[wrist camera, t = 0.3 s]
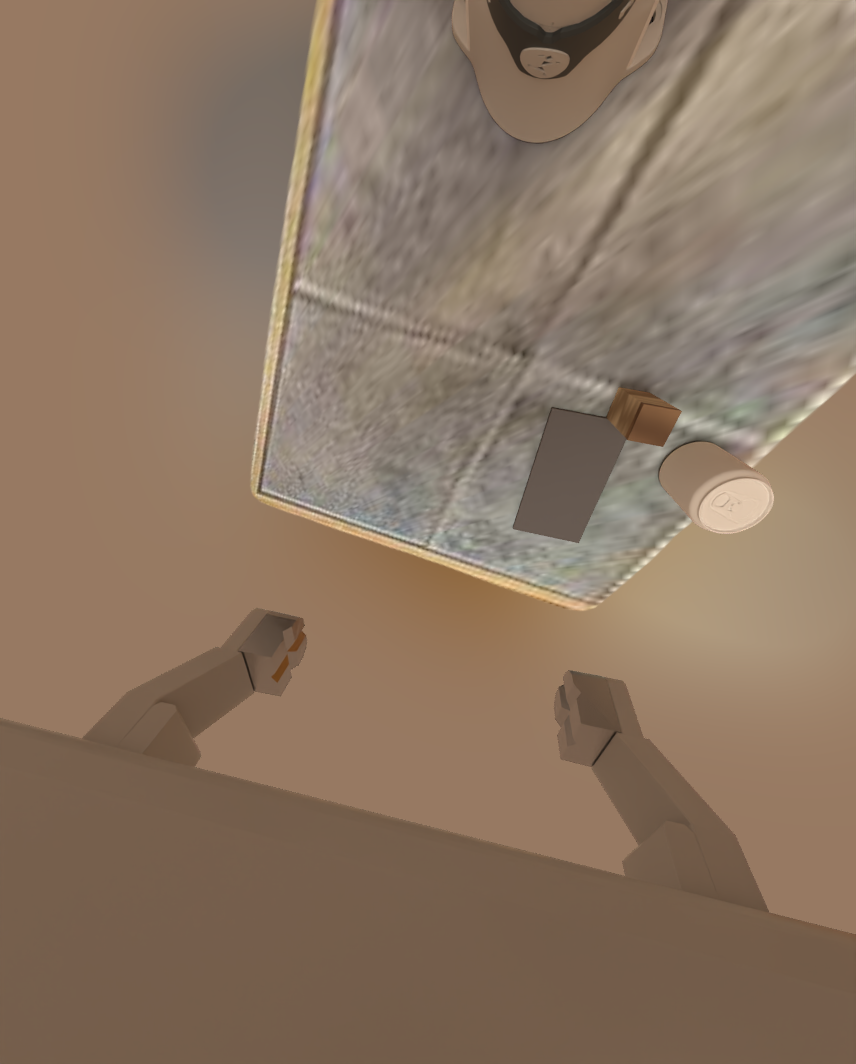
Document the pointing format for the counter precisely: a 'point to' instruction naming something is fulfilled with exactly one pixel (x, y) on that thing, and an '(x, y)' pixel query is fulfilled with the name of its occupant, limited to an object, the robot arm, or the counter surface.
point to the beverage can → (716, 488)
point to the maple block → (642, 416)
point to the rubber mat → (568, 474)
